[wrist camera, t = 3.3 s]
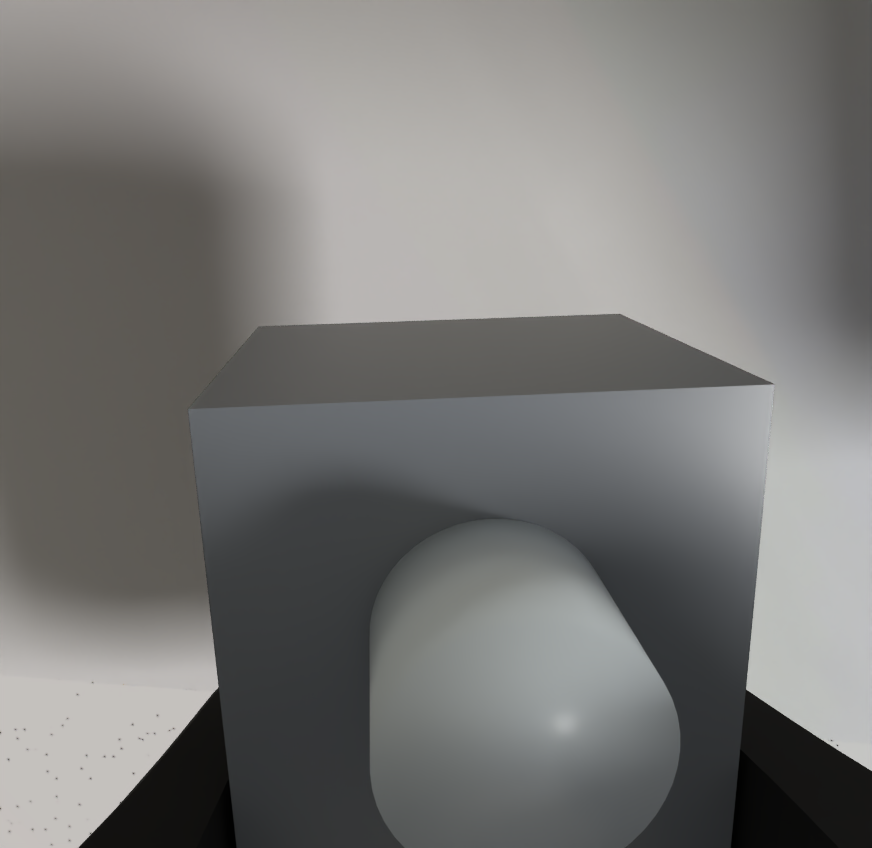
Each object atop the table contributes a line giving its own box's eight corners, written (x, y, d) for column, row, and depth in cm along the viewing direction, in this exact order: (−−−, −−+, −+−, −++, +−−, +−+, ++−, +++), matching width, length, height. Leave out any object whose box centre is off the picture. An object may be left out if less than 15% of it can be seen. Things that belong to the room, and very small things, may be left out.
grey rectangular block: (619, 313, 10) (907, 444, 5) (595, 937, 13) (759, 1471, 7) (259, 326, 10) (124, 484, 4) (312, 962, 12) (269, 1542, 7)
